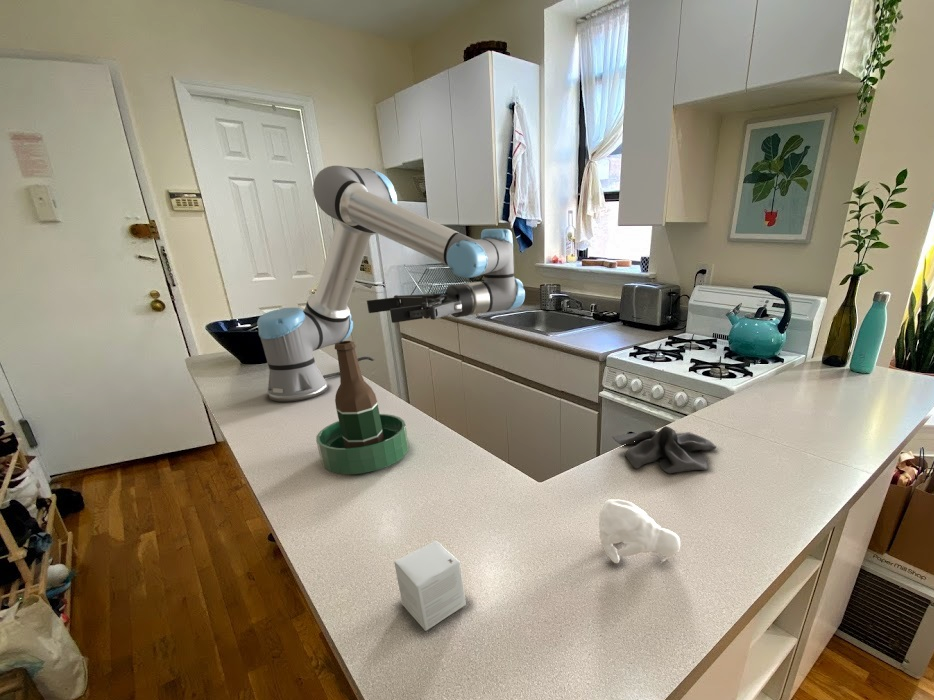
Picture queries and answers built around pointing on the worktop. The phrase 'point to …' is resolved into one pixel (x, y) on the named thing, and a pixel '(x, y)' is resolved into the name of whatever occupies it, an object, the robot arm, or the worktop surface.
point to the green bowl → (363, 448)
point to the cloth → (667, 449)
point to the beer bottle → (356, 402)
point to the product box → (430, 584)
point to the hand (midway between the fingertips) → (379, 311)
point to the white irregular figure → (633, 532)
